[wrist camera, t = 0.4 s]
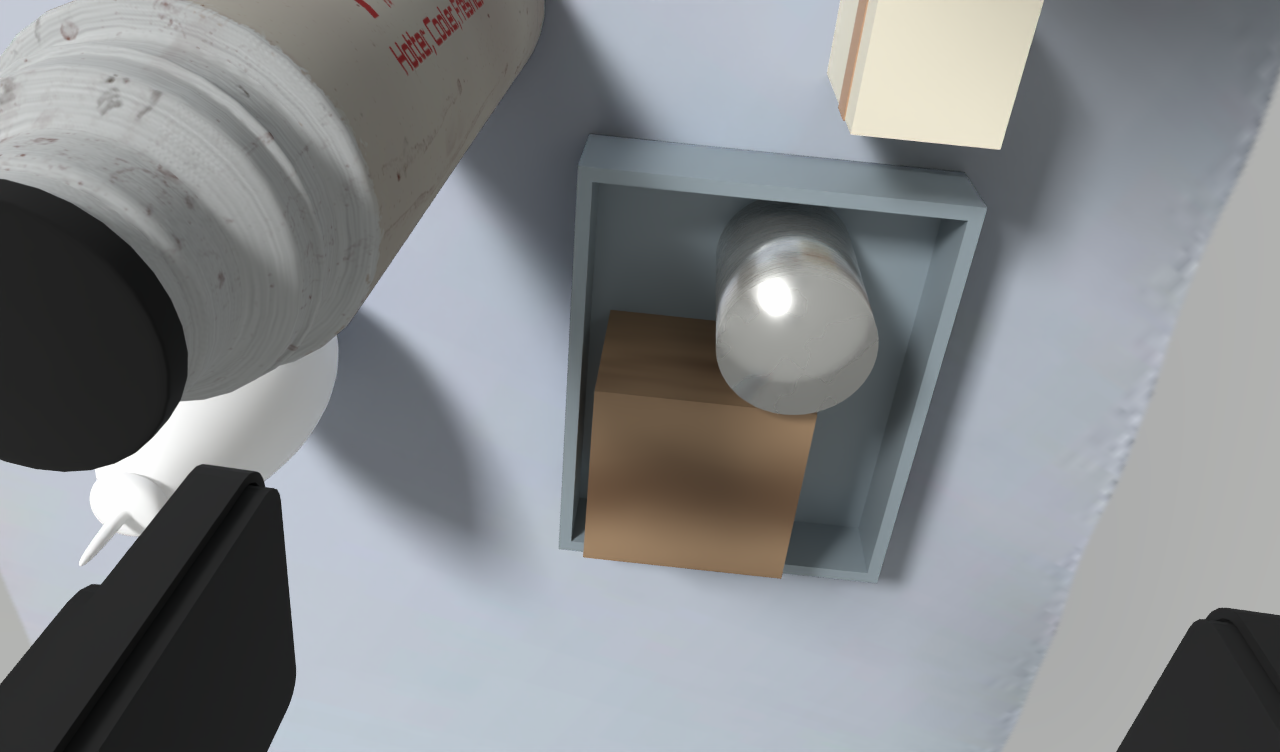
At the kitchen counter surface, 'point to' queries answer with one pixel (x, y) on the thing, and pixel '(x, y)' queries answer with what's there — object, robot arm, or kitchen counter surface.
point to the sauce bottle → (215, 442)
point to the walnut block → (687, 456)
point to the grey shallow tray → (686, 287)
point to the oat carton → (931, 67)
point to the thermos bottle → (215, 192)
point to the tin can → (791, 309)
